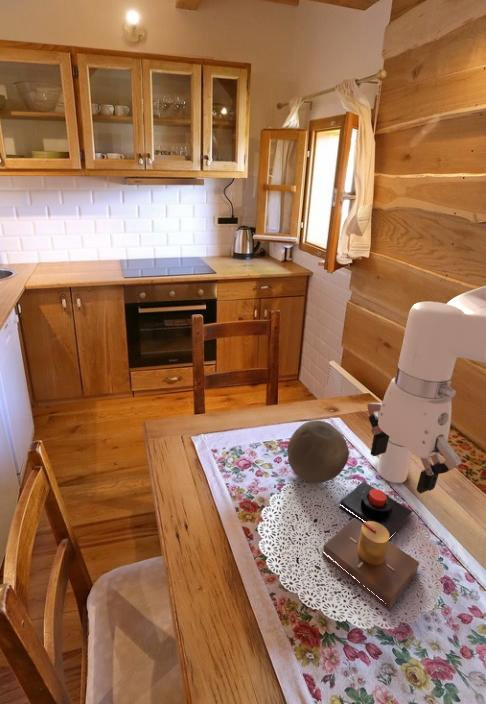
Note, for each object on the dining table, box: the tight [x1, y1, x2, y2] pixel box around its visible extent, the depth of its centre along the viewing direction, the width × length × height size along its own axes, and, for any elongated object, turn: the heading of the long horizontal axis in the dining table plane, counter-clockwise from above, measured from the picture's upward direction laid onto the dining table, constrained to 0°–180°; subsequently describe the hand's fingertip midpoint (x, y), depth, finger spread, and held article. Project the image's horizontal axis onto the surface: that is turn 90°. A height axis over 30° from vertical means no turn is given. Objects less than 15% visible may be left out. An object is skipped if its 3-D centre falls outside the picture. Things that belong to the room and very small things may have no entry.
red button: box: [368, 488, 387, 507], centre depth 90 cm, size 4×4×2 cm
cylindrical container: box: [376, 436, 413, 484], centre depth 101 cm, size 7×7×25 cm
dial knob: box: [358, 521, 390, 565], centre depth 78 cm, size 5×5×6 cm
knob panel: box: [321, 518, 420, 611], centre depth 79 cm, size 14×11×3 cm
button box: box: [338, 481, 413, 542], centre depth 91 cm, size 12×10×4 cm
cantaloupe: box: [286, 419, 350, 484], centre depth 100 cm, size 14×14×15 cm
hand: (399, 470), depth 69 cm, fingers open, 9 cm apart
